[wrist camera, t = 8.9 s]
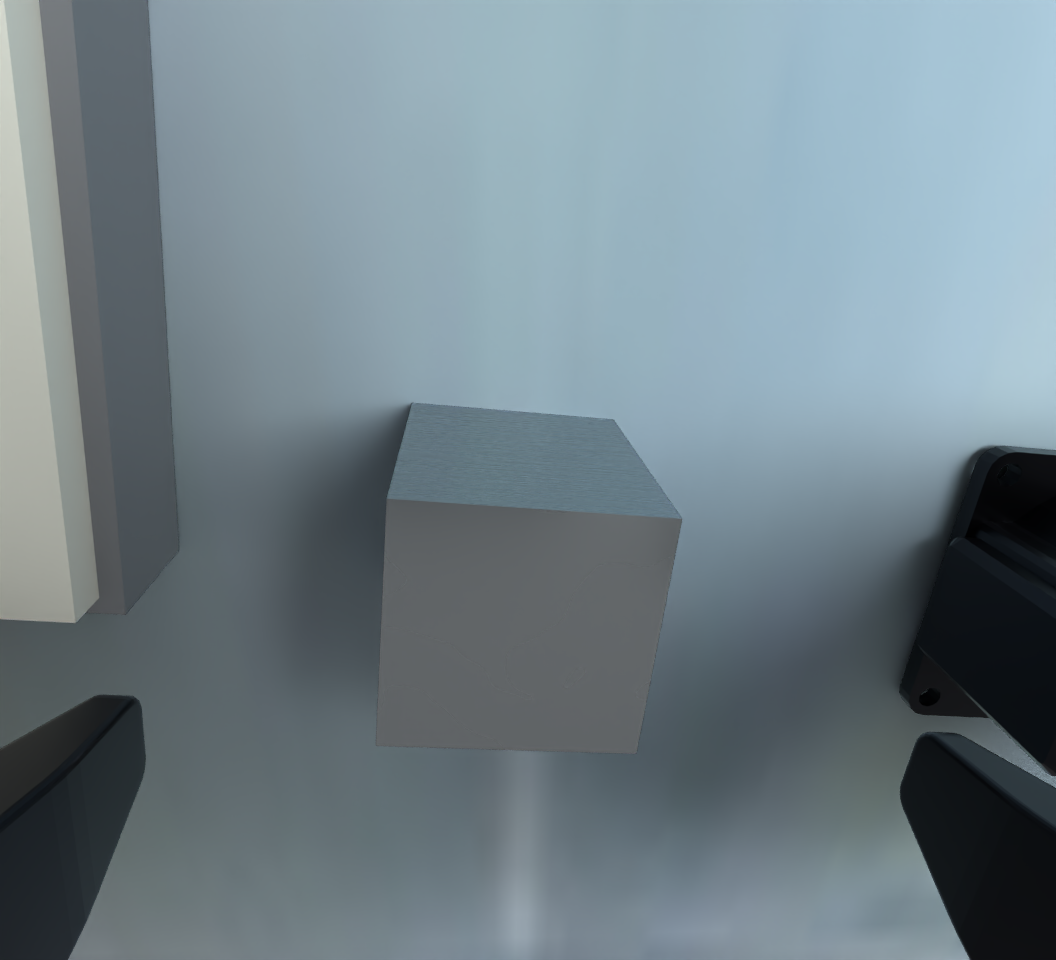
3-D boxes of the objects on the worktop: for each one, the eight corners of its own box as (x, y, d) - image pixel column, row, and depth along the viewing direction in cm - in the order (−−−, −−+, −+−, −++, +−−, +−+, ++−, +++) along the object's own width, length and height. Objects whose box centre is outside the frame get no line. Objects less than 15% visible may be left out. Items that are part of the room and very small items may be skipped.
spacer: (613, 418, 15) (682, 519, 10) (586, 593, 16) (636, 753, 11) (412, 402, 14) (386, 499, 10) (402, 583, 16) (375, 746, 11)
